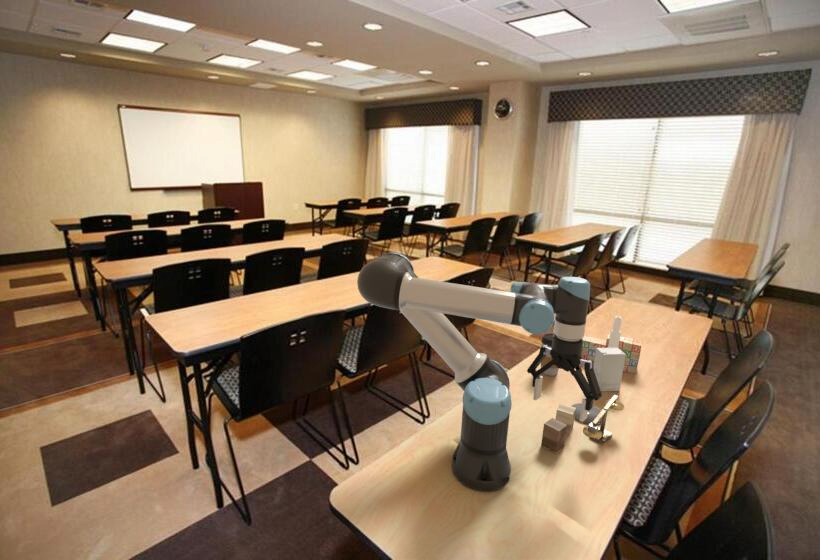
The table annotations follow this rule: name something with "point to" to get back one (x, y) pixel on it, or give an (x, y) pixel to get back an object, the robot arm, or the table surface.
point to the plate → (591, 413)
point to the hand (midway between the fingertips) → (559, 408)
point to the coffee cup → (548, 356)
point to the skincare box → (609, 368)
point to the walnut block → (554, 435)
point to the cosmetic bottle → (615, 333)
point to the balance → (602, 422)
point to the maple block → (566, 416)
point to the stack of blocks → (625, 345)
